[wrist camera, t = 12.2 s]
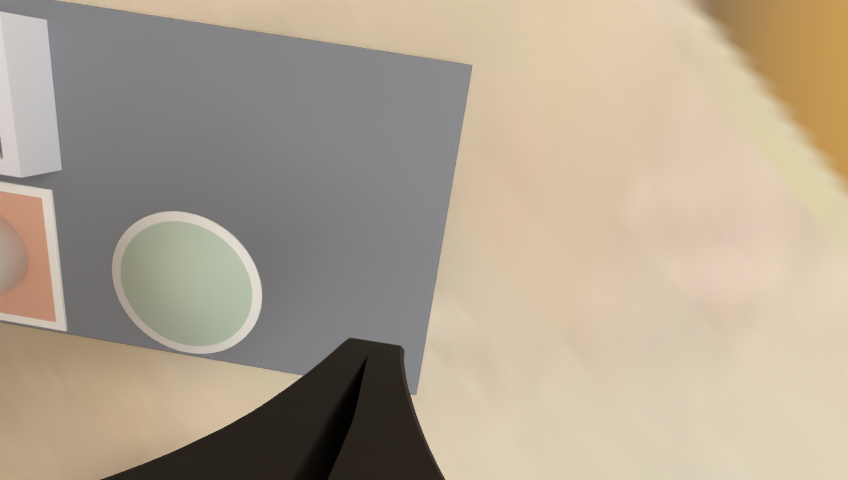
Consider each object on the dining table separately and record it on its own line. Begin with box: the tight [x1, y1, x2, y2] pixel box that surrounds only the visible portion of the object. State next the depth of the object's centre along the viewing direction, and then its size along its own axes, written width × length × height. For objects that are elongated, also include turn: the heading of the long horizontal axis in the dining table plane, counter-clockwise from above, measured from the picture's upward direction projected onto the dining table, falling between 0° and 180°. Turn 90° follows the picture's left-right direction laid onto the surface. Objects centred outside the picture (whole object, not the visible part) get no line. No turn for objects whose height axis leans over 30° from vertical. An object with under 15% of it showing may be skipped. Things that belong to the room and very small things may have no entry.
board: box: [0, 0, 472, 395], centre depth 18 cm, size 14×25×3 cm, turn 82°
